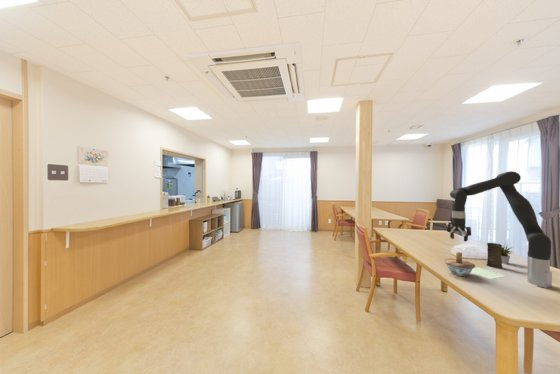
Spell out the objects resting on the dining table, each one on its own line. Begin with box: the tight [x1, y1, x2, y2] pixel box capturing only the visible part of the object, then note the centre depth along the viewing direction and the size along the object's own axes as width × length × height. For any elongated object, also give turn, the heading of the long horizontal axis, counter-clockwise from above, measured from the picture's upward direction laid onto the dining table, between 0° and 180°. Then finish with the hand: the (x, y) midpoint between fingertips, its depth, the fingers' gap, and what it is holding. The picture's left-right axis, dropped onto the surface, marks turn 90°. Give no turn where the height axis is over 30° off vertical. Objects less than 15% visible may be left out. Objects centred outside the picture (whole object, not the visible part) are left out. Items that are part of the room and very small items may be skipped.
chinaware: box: [445, 263, 473, 277], centre depth 153 cm, size 15×15×8 cm
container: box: [486, 242, 503, 270], centre depth 167 cm, size 9×9×18 cm
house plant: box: [501, 243, 513, 265], centre depth 177 cm, size 14×14×16 cm
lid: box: [443, 251, 476, 269], centre depth 153 cm, size 17×17×8 cm
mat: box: [469, 266, 506, 280], centre depth 155 cm, size 17×17×1 cm
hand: (458, 239), depth 153 cm, fingers open, 8 cm apart
